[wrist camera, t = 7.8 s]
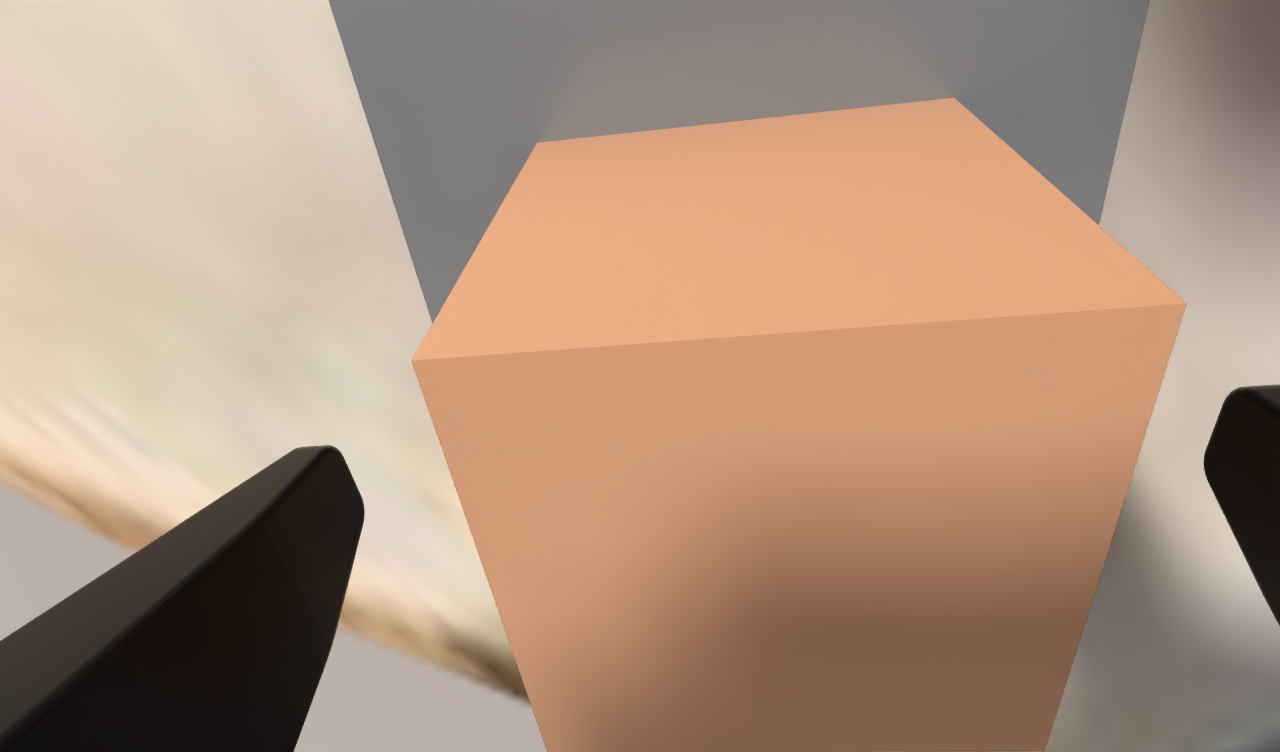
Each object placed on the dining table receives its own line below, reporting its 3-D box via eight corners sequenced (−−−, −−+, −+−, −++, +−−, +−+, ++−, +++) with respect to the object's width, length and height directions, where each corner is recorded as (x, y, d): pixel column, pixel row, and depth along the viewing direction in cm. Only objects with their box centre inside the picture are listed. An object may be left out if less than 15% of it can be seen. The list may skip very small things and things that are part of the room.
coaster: (1149, -135, 8) (1179, -136, 7) (1018, 495, 13) (1031, 520, 12) (344, -20, 9) (323, -14, 8) (510, 520, 14) (503, 544, 13)
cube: (919, 433, 11) (1044, 750, 7) (598, 451, 12) (547, 755, 8) (954, 97, 9) (1185, 304, 5) (537, 143, 9) (411, 360, 5)
